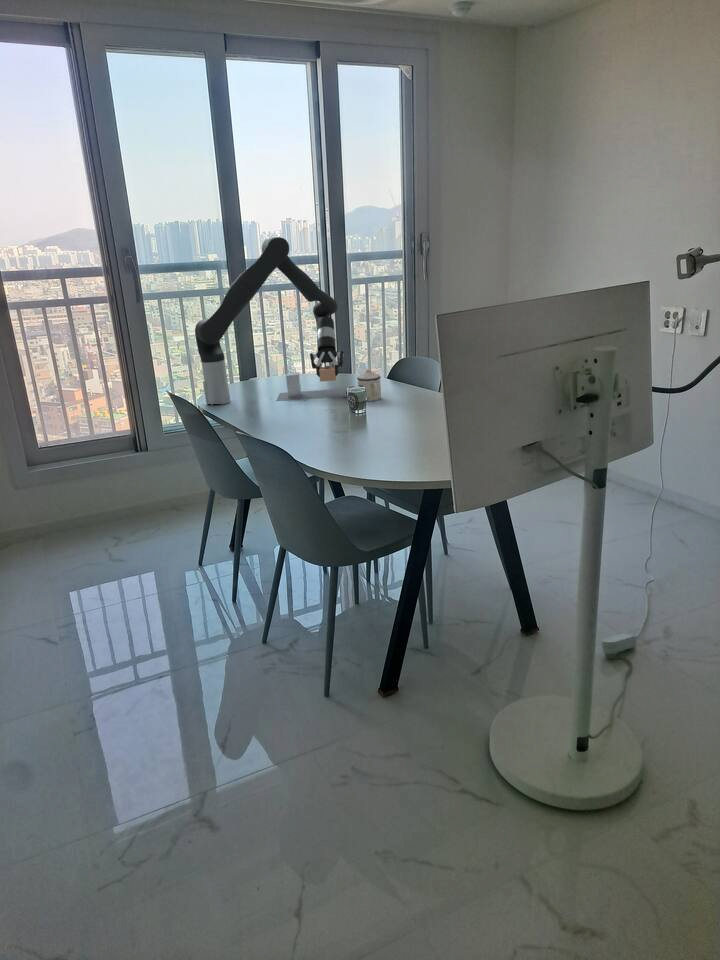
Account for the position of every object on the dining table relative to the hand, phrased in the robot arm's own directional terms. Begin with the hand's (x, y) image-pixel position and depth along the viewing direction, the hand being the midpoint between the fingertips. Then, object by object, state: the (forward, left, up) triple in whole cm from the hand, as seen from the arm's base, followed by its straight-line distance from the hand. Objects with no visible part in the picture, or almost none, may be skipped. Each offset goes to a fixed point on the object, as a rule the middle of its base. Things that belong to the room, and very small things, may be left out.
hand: (327, 375), depth 263 cm
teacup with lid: (+17, -11, -9) cm, 22 cm away
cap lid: (0, +2, -2) cm, 3 cm away
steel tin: (-14, +2, -8) cm, 16 cm away
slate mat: (-7, +2, -8) cm, 11 cm away
